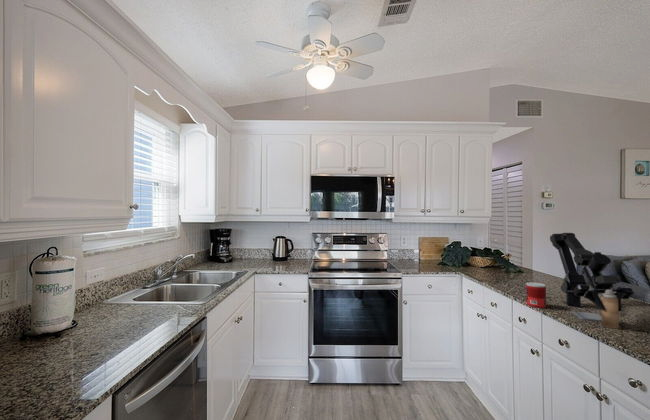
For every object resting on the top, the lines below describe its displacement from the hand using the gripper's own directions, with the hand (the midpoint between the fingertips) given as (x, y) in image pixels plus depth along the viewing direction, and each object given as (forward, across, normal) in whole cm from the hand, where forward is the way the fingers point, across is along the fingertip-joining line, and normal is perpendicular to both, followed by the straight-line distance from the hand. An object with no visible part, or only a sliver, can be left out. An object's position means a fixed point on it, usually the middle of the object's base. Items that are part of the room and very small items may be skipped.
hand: (612, 310), depth 115 cm
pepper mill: (+4, 0, +6) cm, 7 cm away
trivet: (-2, -2, +12) cm, 13 cm away
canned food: (-11, -18, +21) cm, 30 cm away
